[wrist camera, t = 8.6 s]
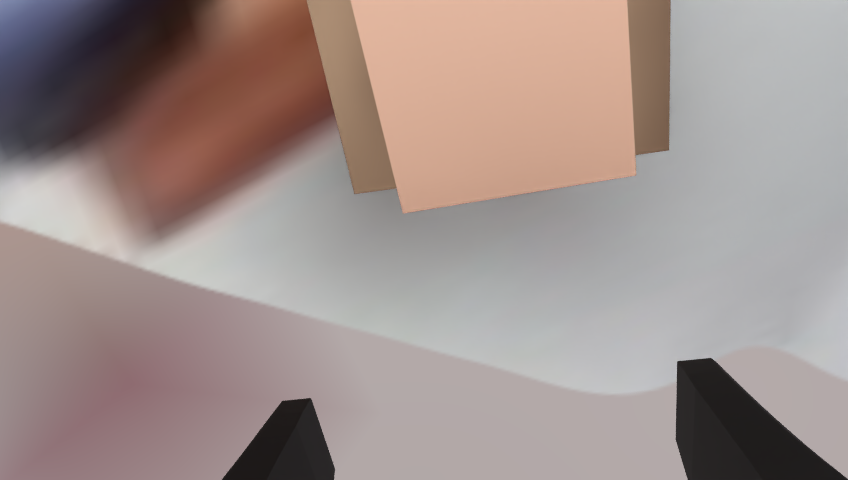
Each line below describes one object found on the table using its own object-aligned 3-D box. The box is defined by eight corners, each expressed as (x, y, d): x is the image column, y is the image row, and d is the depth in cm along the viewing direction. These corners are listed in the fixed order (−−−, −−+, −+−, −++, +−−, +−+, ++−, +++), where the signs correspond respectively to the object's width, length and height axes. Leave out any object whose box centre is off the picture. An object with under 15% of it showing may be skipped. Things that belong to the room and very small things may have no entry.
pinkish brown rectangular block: (554, -102, 17) (623, -88, 10) (570, 65, 19) (636, 175, 12) (389, -65, 17) (343, -27, 10) (422, 93, 19) (402, 213, 12)
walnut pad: (663, -239, 16) (672, -245, 15) (661, 141, 21) (668, 150, 20) (275, -157, 17) (267, -159, 16) (357, 184, 22) (354, 194, 21)
